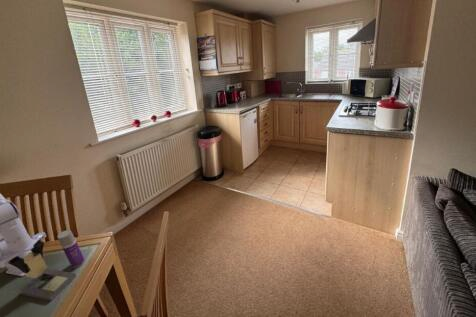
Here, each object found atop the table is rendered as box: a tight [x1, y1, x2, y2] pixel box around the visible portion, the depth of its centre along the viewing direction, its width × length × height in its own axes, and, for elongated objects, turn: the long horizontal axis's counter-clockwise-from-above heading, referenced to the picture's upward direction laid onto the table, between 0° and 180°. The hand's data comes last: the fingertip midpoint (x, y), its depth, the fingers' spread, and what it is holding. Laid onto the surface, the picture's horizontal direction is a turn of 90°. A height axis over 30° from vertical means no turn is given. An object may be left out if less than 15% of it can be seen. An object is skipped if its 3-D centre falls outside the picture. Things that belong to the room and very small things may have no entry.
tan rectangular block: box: [23, 252, 49, 279], centre depth 84 cm, size 4×4×7 cm
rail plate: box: [18, 268, 77, 302], centre depth 86 cm, size 14×10×2 cm
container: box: [56, 229, 86, 269], centre depth 92 cm, size 5×5×15 cm
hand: (33, 266), depth 84 cm, fingers closed on tan rectangular block, 4 cm apart
